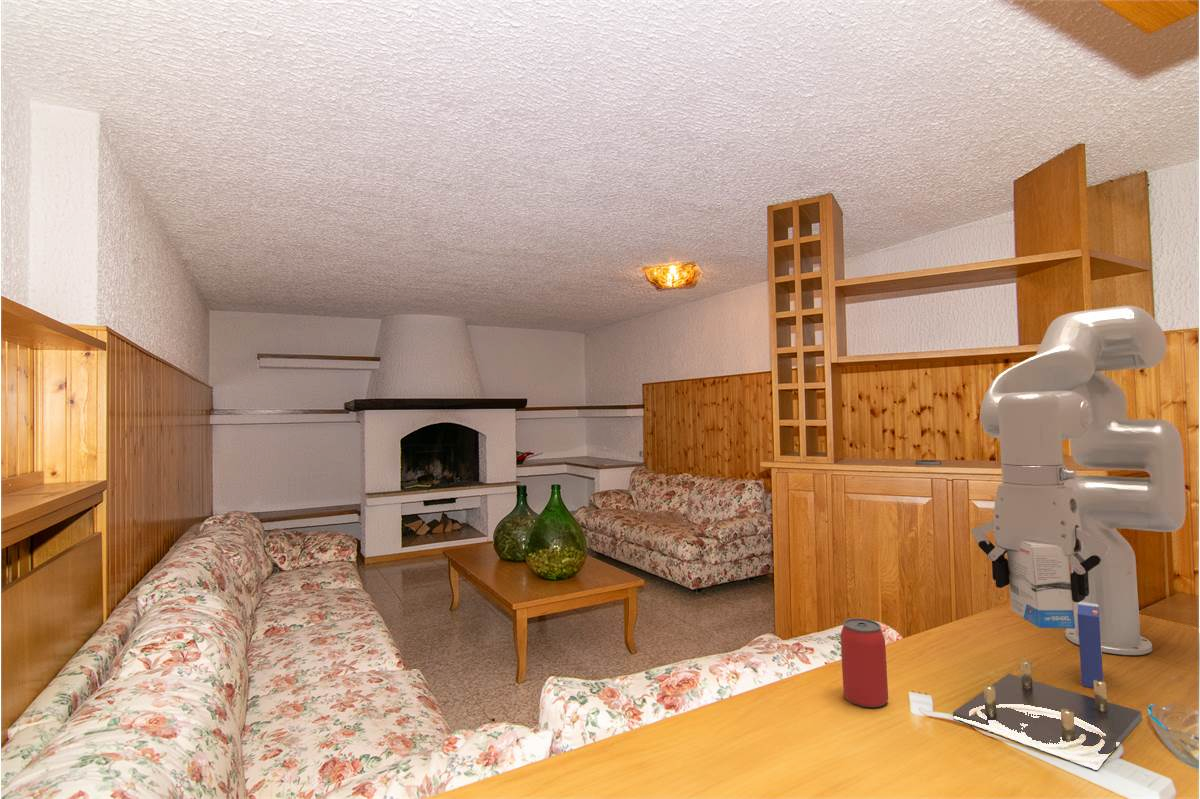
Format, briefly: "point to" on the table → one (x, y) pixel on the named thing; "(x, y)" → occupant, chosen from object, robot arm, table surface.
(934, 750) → the table surface
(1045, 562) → the ink box
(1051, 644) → the table surface
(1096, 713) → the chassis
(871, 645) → the beer can
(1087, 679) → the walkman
